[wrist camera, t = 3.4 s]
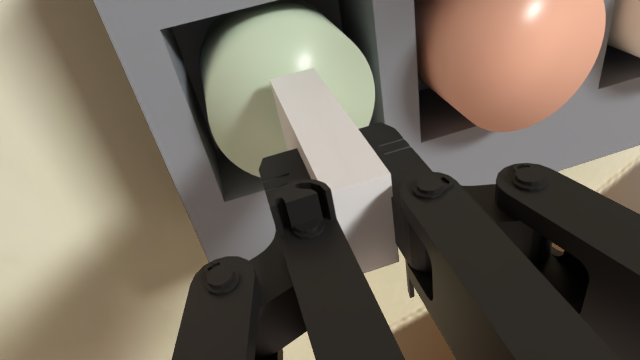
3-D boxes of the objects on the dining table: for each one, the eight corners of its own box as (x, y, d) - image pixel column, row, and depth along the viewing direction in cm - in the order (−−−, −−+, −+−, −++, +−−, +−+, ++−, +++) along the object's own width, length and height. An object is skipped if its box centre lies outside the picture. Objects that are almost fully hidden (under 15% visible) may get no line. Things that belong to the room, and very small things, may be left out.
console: (75, -114, 16) (44, -109, 12) (735, -252, 19) (886, -285, 15) (209, 214, 25) (217, 281, 21) (648, 81, 28) (728, 116, 24)
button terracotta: (396, -35, 18) (452, -11, 14) (535, -69, 19) (621, -56, 15) (405, 104, 21) (452, 150, 18) (522, 70, 22) (589, 108, 19)
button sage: (178, 13, 18) (181, 48, 14) (327, -24, 18) (365, 1, 15) (224, 145, 21) (235, 199, 18) (347, 109, 22) (382, 155, 18)
